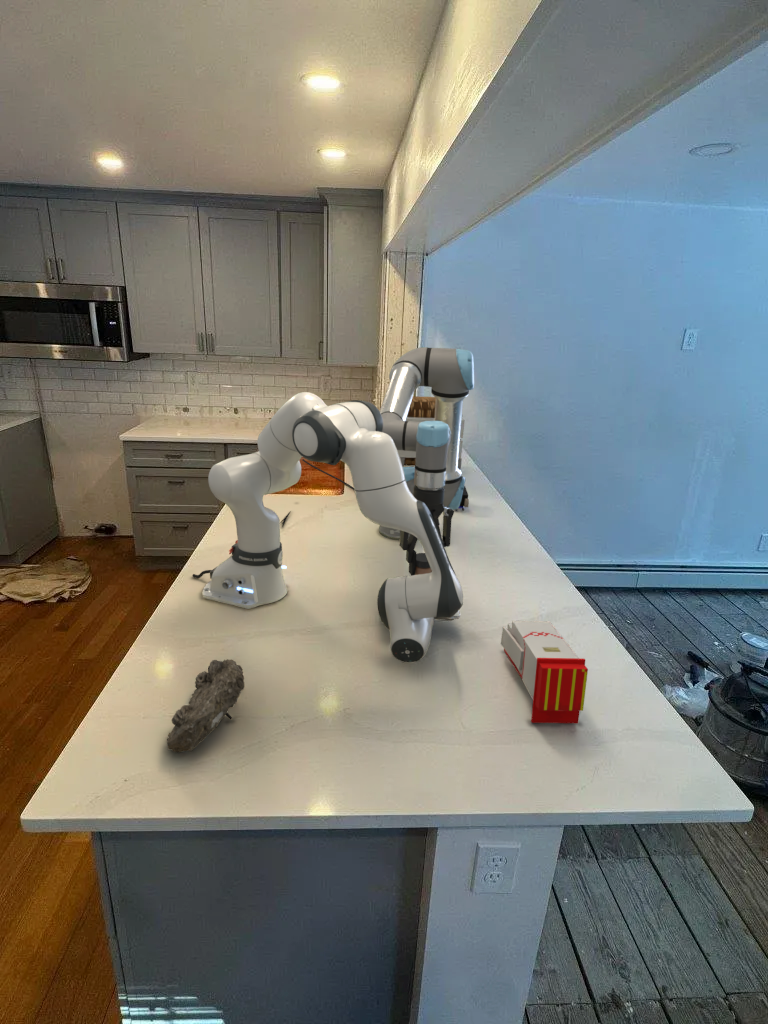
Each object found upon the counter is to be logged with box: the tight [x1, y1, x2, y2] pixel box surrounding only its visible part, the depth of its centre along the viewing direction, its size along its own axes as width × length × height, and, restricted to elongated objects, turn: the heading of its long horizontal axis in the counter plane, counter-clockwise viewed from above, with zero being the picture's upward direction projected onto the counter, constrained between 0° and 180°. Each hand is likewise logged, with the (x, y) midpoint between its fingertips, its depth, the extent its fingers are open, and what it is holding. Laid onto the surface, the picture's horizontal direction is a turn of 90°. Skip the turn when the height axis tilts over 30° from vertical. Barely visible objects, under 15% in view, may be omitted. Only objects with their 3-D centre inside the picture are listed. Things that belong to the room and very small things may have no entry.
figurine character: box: [455, 485, 470, 512], centre depth 229 cm, size 7×8×15 cm
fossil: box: [166, 658, 245, 754], centre depth 106 cm, size 22×10×15 cm
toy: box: [500, 620, 589, 724], centre depth 121 cm, size 12×13×30 cm
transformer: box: [397, 395, 465, 471], centre depth 268 cm, size 34×33×41 cm
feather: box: [280, 510, 292, 528], centre depth 213 cm, size 2×28×2 cm
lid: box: [416, 552, 430, 568], centre depth 144 cm, size 6×6×2 cm
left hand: (421, 588), depth 148 cm, fingers closed on jar, 4 cm apart
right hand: (422, 572), depth 145 cm, fingers closed on lid, 5 cm apart
